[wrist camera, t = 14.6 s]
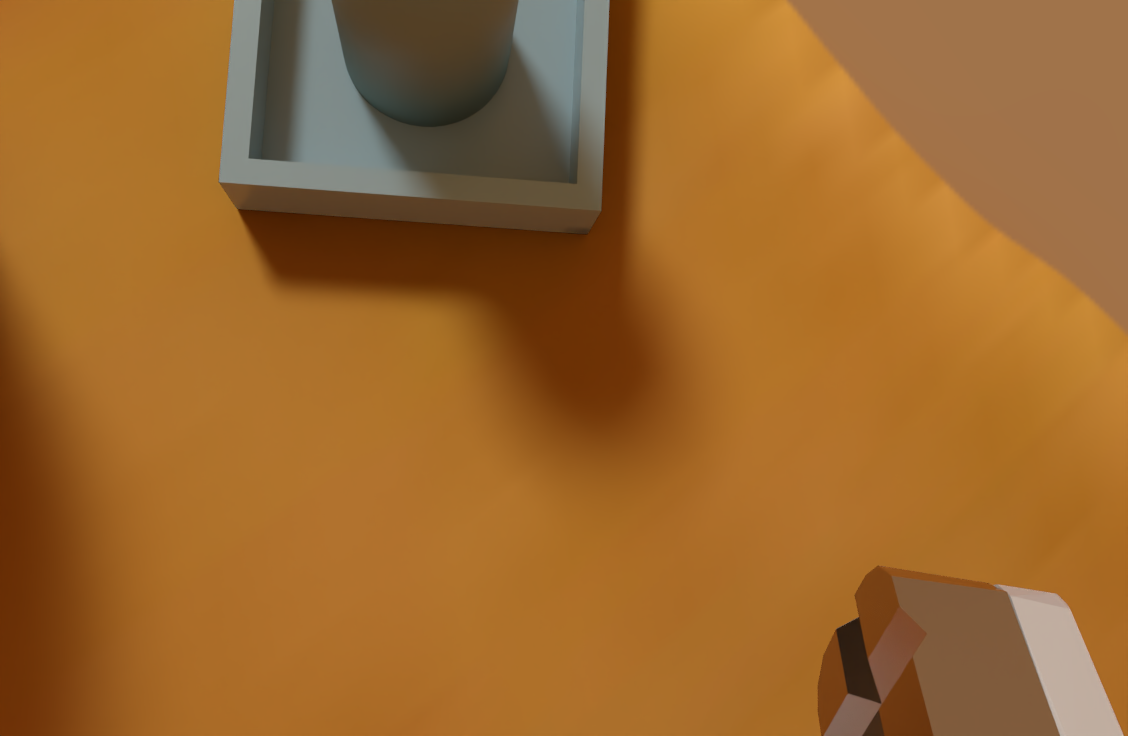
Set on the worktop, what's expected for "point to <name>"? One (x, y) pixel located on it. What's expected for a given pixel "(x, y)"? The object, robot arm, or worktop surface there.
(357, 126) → the dish
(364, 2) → the tea tin
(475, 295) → the worktop surface
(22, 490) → the worktop surface
